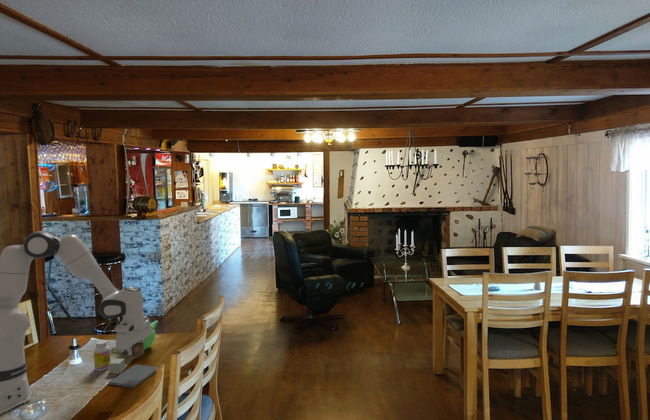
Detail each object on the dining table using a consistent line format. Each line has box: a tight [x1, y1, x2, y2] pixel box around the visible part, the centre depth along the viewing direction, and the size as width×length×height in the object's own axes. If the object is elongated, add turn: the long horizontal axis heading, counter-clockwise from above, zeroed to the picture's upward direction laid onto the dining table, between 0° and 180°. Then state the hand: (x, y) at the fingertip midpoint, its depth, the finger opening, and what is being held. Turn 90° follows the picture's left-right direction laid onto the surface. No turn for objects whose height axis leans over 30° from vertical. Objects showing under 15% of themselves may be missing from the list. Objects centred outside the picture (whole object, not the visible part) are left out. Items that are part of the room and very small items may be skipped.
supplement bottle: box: [93, 339, 111, 372], centre depth 211 cm, size 7×7×13 cm
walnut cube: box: [126, 342, 145, 359], centre depth 202 cm, size 5×5×5 cm
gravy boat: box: [144, 320, 159, 351], centre depth 233 cm, size 18×17×15 cm
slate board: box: [108, 364, 159, 389], centre depth 202 cm, size 18×13×1 cm
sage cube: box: [108, 358, 126, 375], centre depth 208 cm, size 5×5×5 cm
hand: (135, 351), depth 202 cm, fingers closed on walnut cube, 5 cm apart
